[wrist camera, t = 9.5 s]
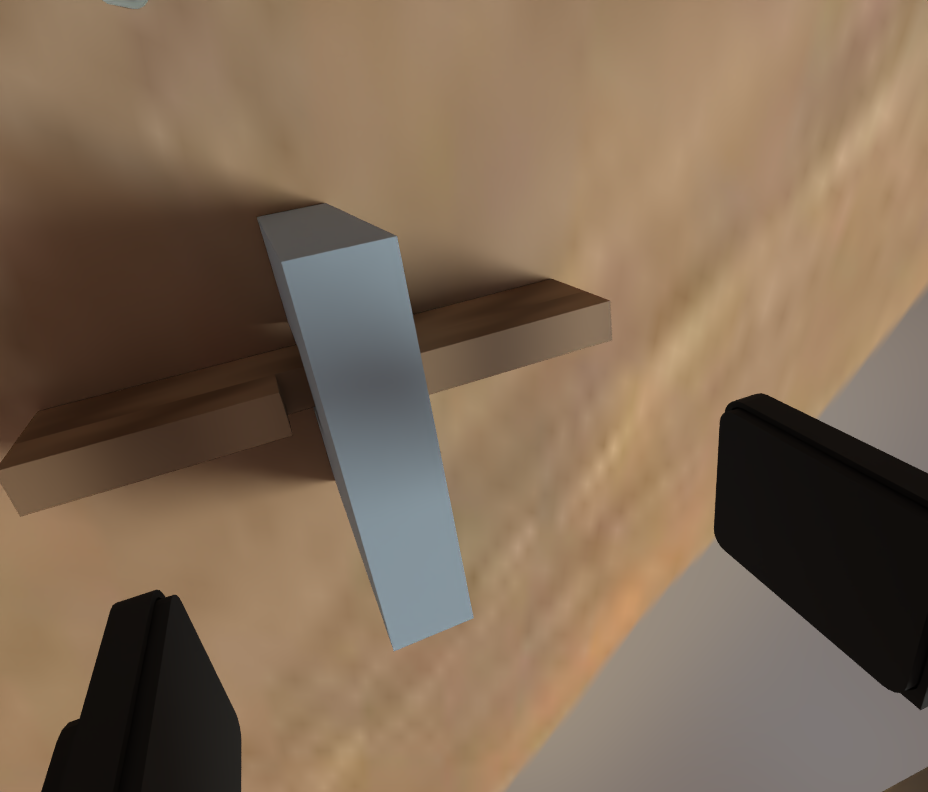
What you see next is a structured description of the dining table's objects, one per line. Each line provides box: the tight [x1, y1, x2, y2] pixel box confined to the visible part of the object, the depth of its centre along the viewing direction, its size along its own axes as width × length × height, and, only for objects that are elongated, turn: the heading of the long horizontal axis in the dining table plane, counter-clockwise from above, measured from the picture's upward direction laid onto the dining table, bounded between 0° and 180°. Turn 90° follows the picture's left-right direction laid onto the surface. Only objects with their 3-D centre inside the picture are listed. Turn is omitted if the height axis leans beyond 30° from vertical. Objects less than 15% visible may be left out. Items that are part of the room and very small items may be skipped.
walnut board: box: [0, 279, 612, 517], centre depth 19 cm, size 18×1×4 cm, turn 99°
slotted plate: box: [257, 203, 473, 651], centre depth 17 cm, size 10×2×9 cm, turn 9°
